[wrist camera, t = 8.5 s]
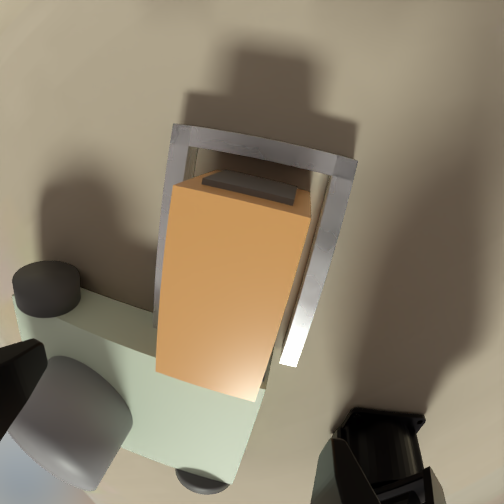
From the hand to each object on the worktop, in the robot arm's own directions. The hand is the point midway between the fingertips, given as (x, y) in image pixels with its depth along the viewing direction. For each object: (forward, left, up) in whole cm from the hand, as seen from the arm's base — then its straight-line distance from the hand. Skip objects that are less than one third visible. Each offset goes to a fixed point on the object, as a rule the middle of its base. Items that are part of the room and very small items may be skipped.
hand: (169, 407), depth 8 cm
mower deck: (+6, +11, -11) cm, 17 cm away
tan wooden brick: (0, 0, -11) cm, 11 cm away
